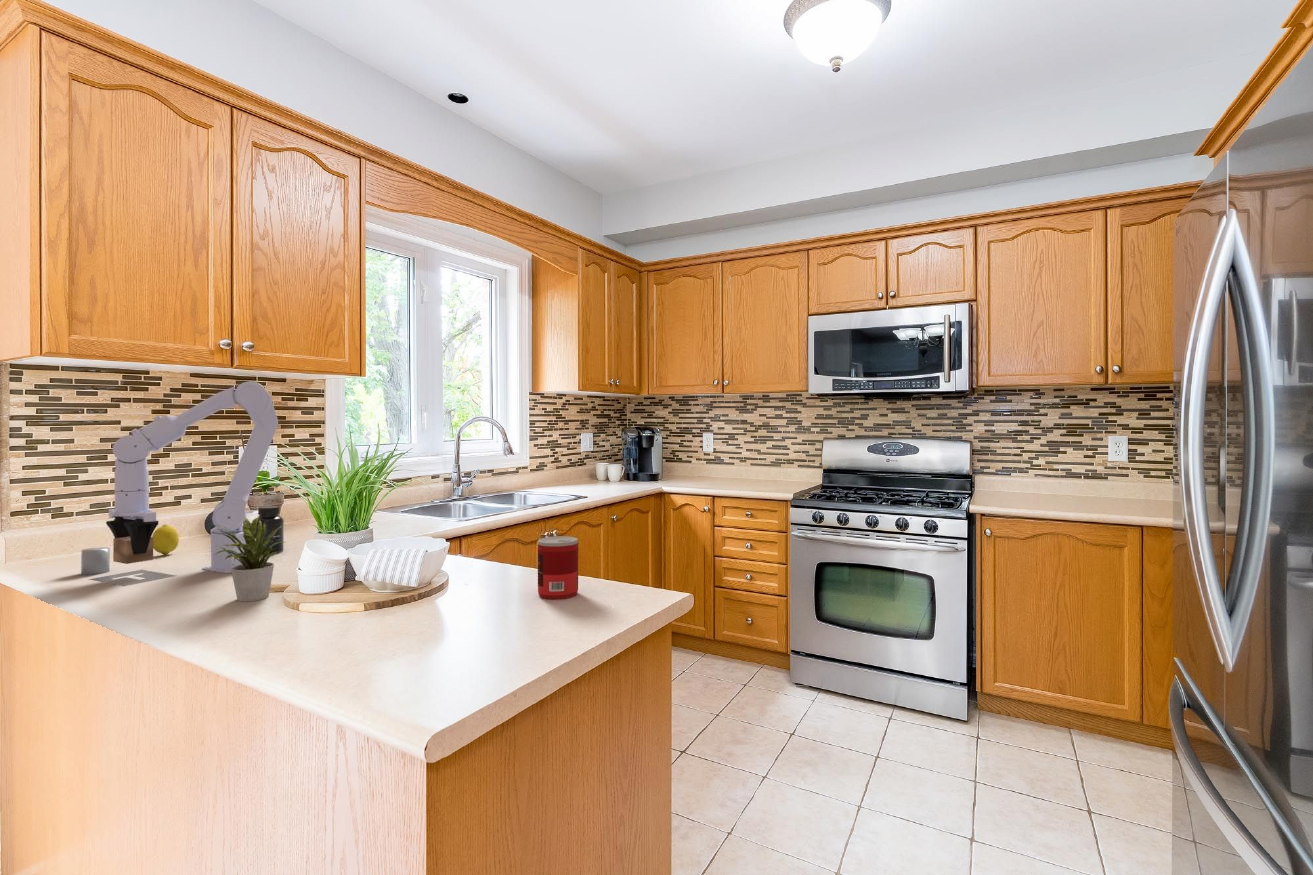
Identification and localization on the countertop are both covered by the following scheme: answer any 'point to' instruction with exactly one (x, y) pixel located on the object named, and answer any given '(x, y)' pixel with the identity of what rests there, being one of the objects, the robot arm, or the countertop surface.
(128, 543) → the walnut cube
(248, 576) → the house plant
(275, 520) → the supplement bottle
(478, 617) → the countertop surface
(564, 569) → the canned food
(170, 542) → the lemon
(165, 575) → the letter card
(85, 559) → the grey jar
